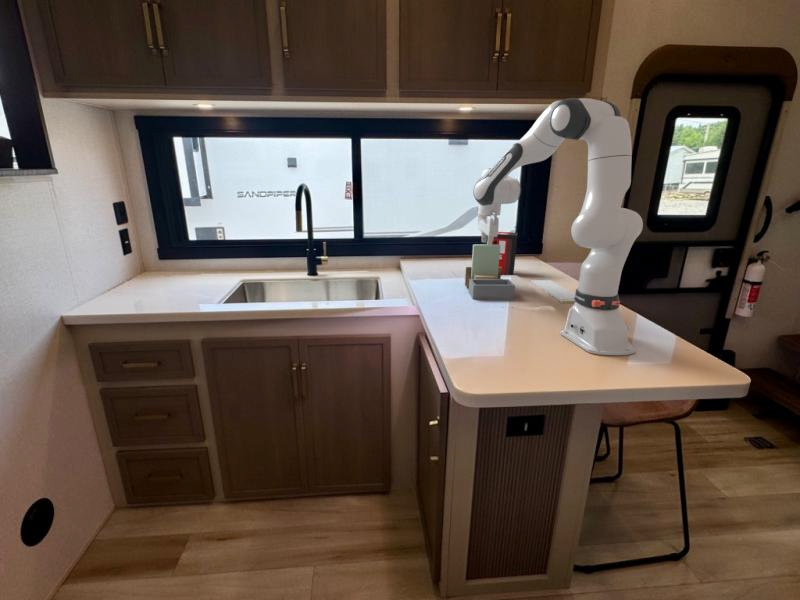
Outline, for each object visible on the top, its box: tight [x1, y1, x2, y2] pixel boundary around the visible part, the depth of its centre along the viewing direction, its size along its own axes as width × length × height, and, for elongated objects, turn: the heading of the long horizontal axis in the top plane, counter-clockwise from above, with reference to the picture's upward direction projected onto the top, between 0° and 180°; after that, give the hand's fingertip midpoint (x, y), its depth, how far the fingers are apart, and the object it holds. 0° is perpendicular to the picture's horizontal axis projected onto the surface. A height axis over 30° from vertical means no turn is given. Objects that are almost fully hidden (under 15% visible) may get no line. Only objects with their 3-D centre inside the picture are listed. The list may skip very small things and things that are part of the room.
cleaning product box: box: [480, 231, 519, 276], centre depth 201 cm, size 16×9×20 cm, turn 74°
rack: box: [464, 266, 502, 292], centre depth 172 cm, size 10×15×10 cm, turn 92°
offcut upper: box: [474, 275, 495, 279], centre depth 170 cm, size 3×8×3 cm, turn 92°
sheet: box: [471, 243, 500, 279], centre depth 173 cm, size 2×11×18 cm, turn 92°
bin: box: [467, 278, 516, 300], centre depth 163 cm, size 9×16×7 cm, turn 92°
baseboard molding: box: [530, 279, 575, 304], centre depth 175 cm, size 31×3×12 cm
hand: (486, 244), depth 170 cm, fingers open, 8 cm apart
